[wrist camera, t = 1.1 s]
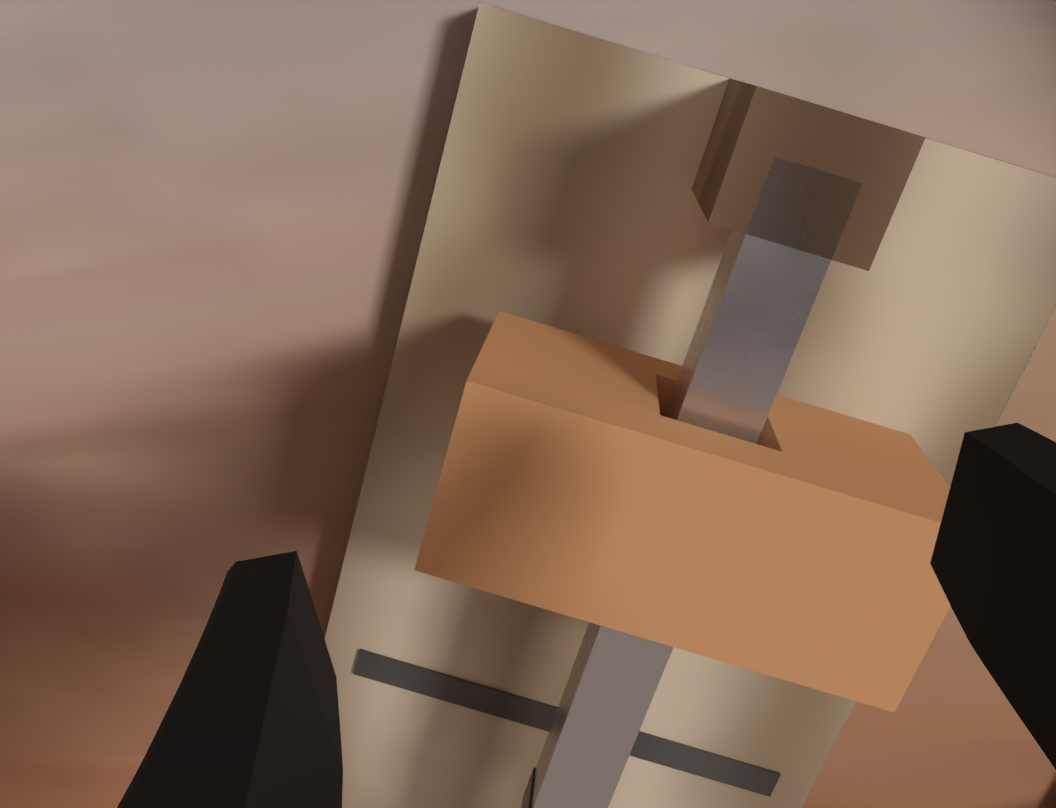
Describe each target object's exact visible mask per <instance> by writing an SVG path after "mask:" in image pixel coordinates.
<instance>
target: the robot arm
mask: <svg viewBox="0 0 1056 808" xmlns="http://www.w3.org/2000/svg"><path fill="white" fill-rule="evenodd" d="M930 564H931V566H932V568H933V570H934V572H935V574H936V576H937V578H938V580H939V583H940V585H941V587H942V589H943V591H944V593H945V595H946V597H947V599H948V601H949V603H950V605H951V607H952V609H953V611H954V613H955V615H956V617H957V619H958V621H959V623H960V624H961V626H962V628H963V630H964V632H965V634H966V636H967V638H968V640H969V642H970V643H971V645H972V647H973V648H974V650H975V651H976V653H977V654H978V656H979V657H980V659H981V661H982V662H983V664H984V665H985V667H986V668H987V670H988V671H989V673H990V674H991V675H992V677H993V678H994V680H995V681H996V683H997V684H998V686H999V687H1000V689H1001V690H1002V692H1003V693H1004V695H1005V696H1006V698H1007V699H1008V701H1009V702H1010V704H1011V705H1012V707H1013V708H1014V710H1015V711H1016V713H1017V714H1018V715H1019V717H1020V718H1021V720H1022V721H1023V723H1024V724H1025V726H1026V727H1027V728H1028V730H1029V731H1030V733H1031V734H1032V736H1033V737H1034V739H1035V740H1036V742H1037V743H1038V744H1039V746H1040V747H1041V749H1042V750H1043V752H1044V753H1045V755H1046V756H1047V758H1048V759H1049V760H1050V762H1051V763H1052V765H1053V766H1054V768H1055V769H1056V443H1055V442H1054V441H1052V440H1050V439H1048V438H1046V437H1044V436H1042V435H1040V434H1039V433H1037V432H1035V431H1033V430H1031V429H1029V428H1027V427H1025V426H1023V425H1021V424H1019V423H1014V424H1008V425H1003V426H997V427H991V428H986V429H980V430H975V431H969V432H965V433H964V437H963V441H962V445H961V448H960V452H959V456H958V460H957V464H956V467H955V471H954V475H953V479H952V482H951V486H950V490H949V494H948V498H947V501H946V505H945V509H944V513H943V517H942V520H941V524H940V528H939V532H938V535H937V539H936V543H935V547H934V551H933V554H932V558H931V562H930ZM342 787H343V763H342V748H341V732H340V718H339V705H338V692H337V679H336V674H335V671H334V668H333V665H332V661H331V658H330V655H329V652H328V649H327V646H326V642H325V639H324V636H323V633H322V630H321V627H320V623H319V620H318V617H317V614H316V611H315V608H314V604H313V601H312V598H311V595H310V592H309V589H308V585H307V582H306V579H305V576H304V573H303V570H302V567H301V563H300V560H299V557H298V554H297V551H294V552H289V553H283V554H277V555H272V556H266V557H260V558H255V559H249V560H244V561H238V562H236V563H235V564H234V565H233V566H232V567H231V568H230V570H229V571H228V572H227V575H226V577H225V580H224V583H223V585H222V588H221V590H220V593H219V596H218V598H217V601H216V603H215V605H214V608H213V610H212V613H211V615H210V618H209V620H208V623H207V625H206V627H205V630H204V632H203V634H202V637H201V639H200V641H199V644H198V646H197V648H196V650H195V653H194V655H193V657H192V659H191V661H190V664H189V666H188V668H187V670H186V672H185V675H184V677H183V679H182V681H181V684H180V686H179V688H178V690H177V692H176V694H175V696H174V698H173V700H172V702H171V704H170V706H169V708H168V710H167V712H166V714H165V716H164V718H163V720H162V723H161V725H160V727H159V729H158V731H157V733H156V735H155V737H154V739H153V741H152V743H151V745H150V747H149V749H148V751H147V753H146V755H145V757H144V759H143V761H142V763H141V765H140V767H139V769H138V771H137V772H136V774H135V776H134V778H133V780H132V782H131V784H130V785H129V787H128V789H127V791H126V793H125V794H124V796H123V798H122V800H121V802H120V803H119V805H118V807H117V808H342Z"/></svg>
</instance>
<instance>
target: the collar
mask: <svg viewBox="0 0 1056 808" xmlns="http://www.w3.org/2000/svg"><path fill="white" fill-rule="evenodd" d="M681 368H682V366H681V365H678V364H674V363H671V362H668V361H664V360H661V359H658V358H654V357H651V356H648V355H644V354H641V353H638V352H635V351H631V350H628V349H625V348H621V347H618V346H615V345H611V344H608V343H605V342H601V341H598V340H595V339H591V338H588V337H585V336H581V335H578V334H575V333H571V332H568V331H565V330H561V329H558V328H555V327H551V326H548V325H545V324H541V323H538V322H535V321H531V320H528V319H525V318H521V317H518V316H515V315H511V314H508V313H505V312H501V311H499V312H498V314H497V316H496V318H495V321H494V323H493V325H492V327H491V329H490V331H489V333H488V336H487V338H486V340H485V342H484V344H483V346H482V349H481V351H480V353H479V355H478V357H477V359H476V361H475V364H474V366H473V368H472V370H471V372H470V374H469V377H468V379H467V381H466V384H465V388H464V392H463V395H462V399H461V402H460V406H459V410H458V413H457V417H456V421H455V424H454V428H453V431H452V435H451V439H450V442H449V446H448V449H447V453H446V457H445V460H444V464H443V468H442V471H441V475H440V478H439V482H438V486H437V489H436V493H435V497H434V500H433V504H432V507H431V511H430V515H429V518H428V522H427V525H426V529H425V533H424V536H423V540H422V544H421V547H420V551H419V554H418V558H417V562H416V565H415V569H414V570H415V571H418V572H422V573H425V574H428V575H432V576H435V577H439V578H442V579H445V580H449V581H452V582H455V583H459V584H462V585H466V586H469V587H472V588H476V589H479V590H482V591H486V592H489V593H493V594H496V595H499V596H503V597H506V598H509V599H513V600H516V601H520V602H523V603H526V604H530V605H533V606H536V607H540V608H543V609H547V610H550V611H553V612H557V613H560V614H563V615H567V616H570V617H574V618H577V619H580V620H584V621H587V622H590V623H594V624H597V625H601V626H604V627H607V628H611V629H614V630H617V631H621V632H624V633H627V634H631V635H634V636H638V637H641V638H644V639H648V640H651V641H654V642H658V643H661V644H665V645H668V646H671V647H675V648H678V649H681V650H685V651H688V652H692V653H695V654H698V655H702V656H705V657H708V658H712V659H715V660H719V661H722V662H725V663H729V664H732V665H735V666H739V667H742V668H746V669H749V670H752V671H756V672H759V673H762V674H766V675H769V676H773V677H776V678H779V679H783V680H786V681H789V682H793V683H796V684H800V685H803V686H806V687H810V688H813V689H816V690H820V691H823V692H827V693H830V694H833V695H837V696H840V697H843V698H847V699H850V700H853V701H857V702H860V703H864V704H867V705H870V706H874V707H877V708H880V709H884V710H887V711H891V712H894V713H895V711H896V709H897V707H898V705H899V703H900V701H901V699H902V697H903V695H904V694H905V692H906V690H907V688H908V686H909V684H910V682H911V680H912V678H913V677H914V675H915V673H916V671H917V669H918V667H919V665H920V663H921V661H922V659H923V658H924V656H925V654H926V652H927V650H928V648H929V646H930V644H931V642H932V640H933V639H934V637H935V635H936V633H937V631H938V629H939V627H940V625H941V623H942V622H943V620H944V618H945V616H946V614H947V612H948V610H949V608H950V606H951V605H950V603H949V601H948V599H947V597H946V595H945V593H944V591H943V589H942V587H941V585H940V583H939V580H938V578H937V576H936V574H935V572H934V570H933V568H932V566H931V564H930V562H931V558H932V554H933V551H934V547H935V543H936V539H937V535H938V532H939V528H940V524H941V520H942V517H943V513H944V509H945V505H946V501H947V498H948V494H949V490H950V487H949V485H948V484H947V483H946V481H945V480H944V479H943V477H942V476H941V475H940V473H939V472H938V471H937V469H936V468H935V467H934V465H933V464H932V463H931V461H930V460H929V459H928V457H927V456H926V455H925V453H924V452H923V451H922V449H921V448H920V447H919V445H918V444H917V443H916V441H915V440H914V439H913V437H912V436H911V435H910V434H907V433H904V432H901V431H897V430H894V429H891V428H887V427H884V426H881V425H877V424H874V423H871V422H867V421H864V420H861V419H857V418H854V417H851V416H847V415H844V414H841V413H837V412H834V411H831V410H827V409H824V408H821V407H817V406H814V405H811V404H807V403H804V402H801V401H798V400H794V399H791V398H788V397H784V396H781V395H778V394H777V395H776V397H775V399H774V402H773V404H772V407H771V409H770V412H769V414H768V417H767V419H766V422H765V424H764V426H763V429H762V431H761V434H760V436H759V439H758V441H757V444H755V443H751V442H748V441H745V440H741V439H738V438H735V437H731V436H728V435H725V434H721V433H718V432H715V431H711V430H708V429H705V428H701V427H698V426H695V425H691V424H688V423H684V422H681V421H678V420H674V419H671V418H668V417H664V415H665V412H666V409H667V406H668V404H669V401H670V398H671V395H672V393H673V390H674V387H675V384H676V382H677V379H678V376H679V373H680V371H681Z"/></svg>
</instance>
